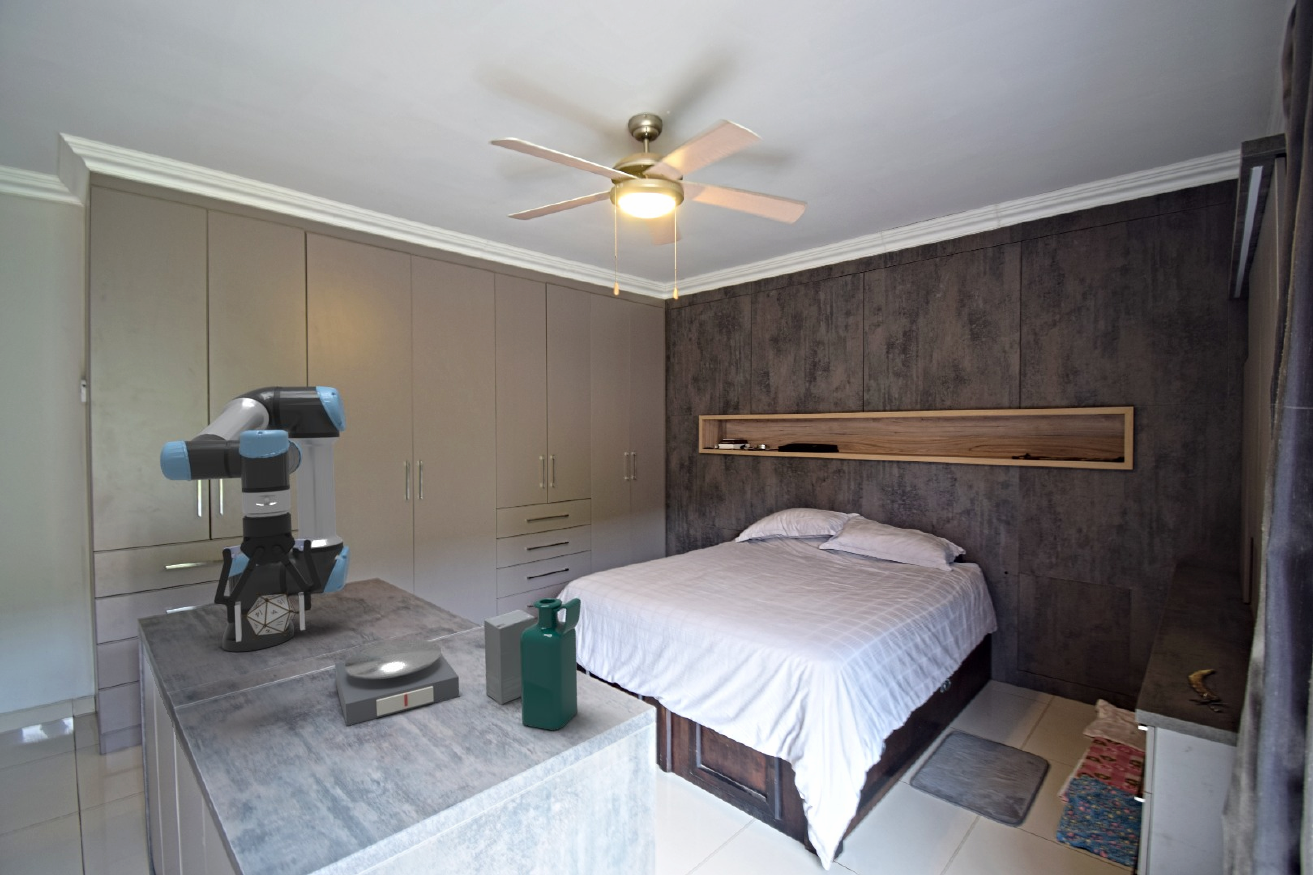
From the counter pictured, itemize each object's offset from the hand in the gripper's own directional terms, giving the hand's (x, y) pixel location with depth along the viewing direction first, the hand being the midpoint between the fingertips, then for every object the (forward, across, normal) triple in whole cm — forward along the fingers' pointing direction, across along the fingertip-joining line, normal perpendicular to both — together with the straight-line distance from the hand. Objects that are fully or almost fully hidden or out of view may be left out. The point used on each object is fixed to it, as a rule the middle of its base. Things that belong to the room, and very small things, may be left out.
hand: (271, 633), depth 110 cm
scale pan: (+11, +21, 0) cm, 24 cm away
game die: (+1, 0, 0) cm, 1 cm away
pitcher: (+16, +43, -30) cm, 55 cm away
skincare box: (+16, +40, -16) cm, 46 cm away
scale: (+16, +21, 0) cm, 26 cm away
